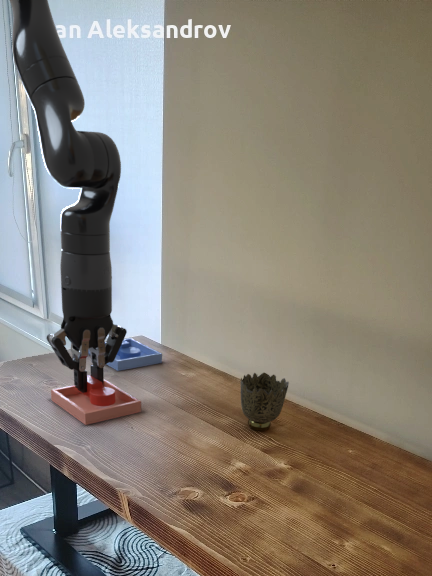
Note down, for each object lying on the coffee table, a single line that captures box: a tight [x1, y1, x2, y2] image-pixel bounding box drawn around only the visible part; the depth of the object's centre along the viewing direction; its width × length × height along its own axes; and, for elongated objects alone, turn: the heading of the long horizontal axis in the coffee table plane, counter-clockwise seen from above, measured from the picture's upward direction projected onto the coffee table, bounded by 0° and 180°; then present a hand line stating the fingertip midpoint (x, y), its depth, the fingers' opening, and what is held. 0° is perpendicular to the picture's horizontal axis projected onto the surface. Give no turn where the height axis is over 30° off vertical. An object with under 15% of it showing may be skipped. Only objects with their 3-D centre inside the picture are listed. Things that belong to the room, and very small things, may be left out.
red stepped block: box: [79, 374, 115, 406], centre depth 101 cm, size 8×4×3 cm, turn 40°
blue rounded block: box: [117, 340, 141, 360], centre depth 123 cm, size 8×4×3 cm, turn 40°
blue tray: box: [88, 337, 163, 372], centre depth 124 cm, size 11×10×2 cm
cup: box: [240, 372, 290, 432], centre depth 98 cm, size 8×7×8 cm
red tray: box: [50, 378, 142, 426], centre depth 102 cm, size 11×10×2 cm
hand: (89, 389), depth 103 cm, fingers closed on red stepped block, 2 cm apart
